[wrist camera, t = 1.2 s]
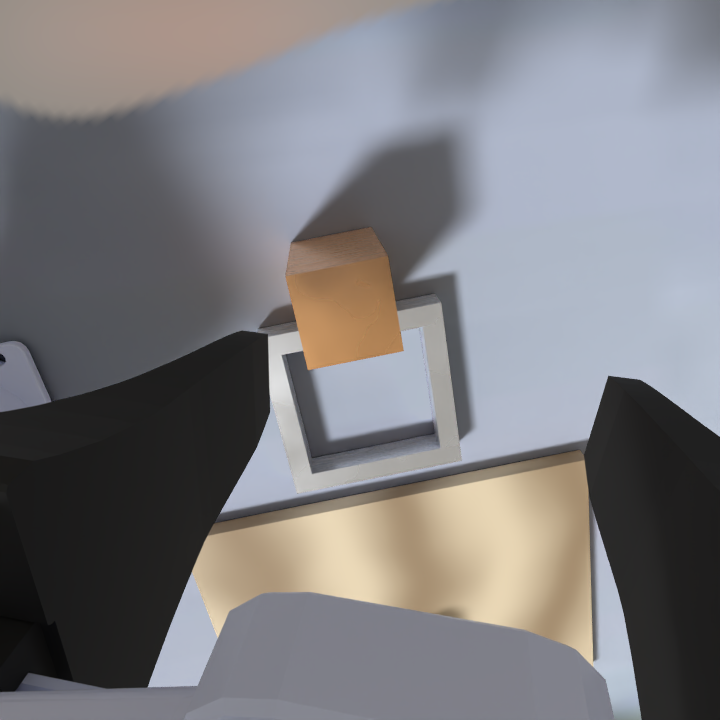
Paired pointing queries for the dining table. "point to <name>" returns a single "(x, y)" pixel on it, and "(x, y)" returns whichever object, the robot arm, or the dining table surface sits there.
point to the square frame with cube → (356, 354)
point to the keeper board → (426, 550)
